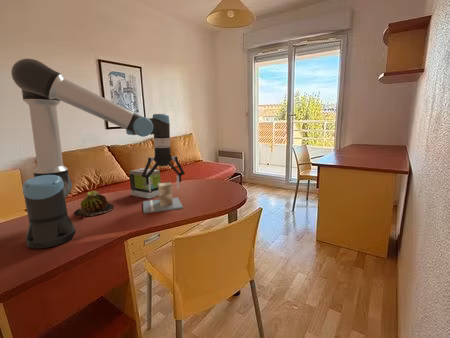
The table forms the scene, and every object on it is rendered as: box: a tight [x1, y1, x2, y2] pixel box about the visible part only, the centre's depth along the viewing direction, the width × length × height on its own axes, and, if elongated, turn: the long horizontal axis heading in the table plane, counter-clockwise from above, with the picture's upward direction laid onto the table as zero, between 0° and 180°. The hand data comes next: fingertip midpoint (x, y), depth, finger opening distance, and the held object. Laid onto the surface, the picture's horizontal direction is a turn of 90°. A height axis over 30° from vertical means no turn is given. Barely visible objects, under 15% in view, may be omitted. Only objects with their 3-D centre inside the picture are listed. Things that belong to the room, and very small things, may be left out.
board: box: [142, 197, 184, 214], centre depth 121 cm, size 18×16×1 cm
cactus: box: [73, 190, 114, 217], centre depth 115 cm, size 17×16×10 cm
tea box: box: [128, 167, 162, 200], centre depth 138 cm, size 15×10×15 cm, turn 58°
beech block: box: [158, 181, 174, 206], centre depth 121 cm, size 6×6×10 cm
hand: (164, 189), depth 120 cm, fingers open, 13 cm apart
